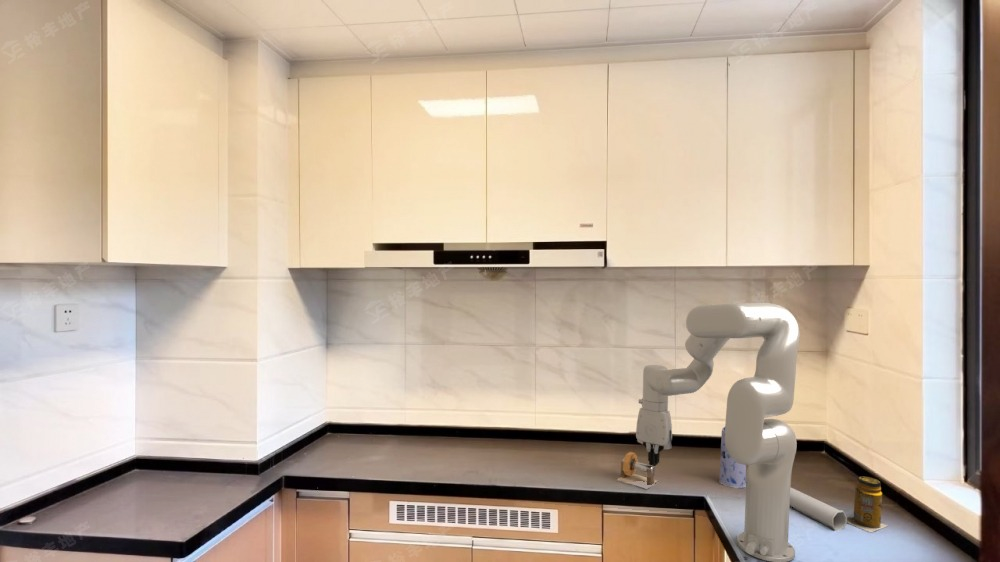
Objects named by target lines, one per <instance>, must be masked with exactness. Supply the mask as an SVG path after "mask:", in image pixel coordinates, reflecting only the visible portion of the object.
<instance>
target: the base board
mask: <svg viewBox="0 0 1000 562" xmlns="http://www.w3.org/2000/svg"><path fill="white" fill-rule="evenodd" d="M620 464H621V465H620V476H619V477H618V478H617V479H616V481H617V480H619V481H623V482H636V481H643V482H645V481H646V482H647V485H652V484H654V482H657V481H658V480H657V479H655V475H656V474H655V473H656V471H655V470H656V466H654V471H653V472H654V473H653V474H652V473H651V469H647V473H646V476H643V475H639V474H636V473H635V474H633V475H632V476H629V475H625V473H624V471H623V461H622V460H621V462H620ZM619 481H618V482H619ZM657 483H658V482H657Z"/></svg>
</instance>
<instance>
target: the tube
mask: <svg viewBox="0 0 1000 562" xmlns="http://www.w3.org/2000/svg"><path fill="white" fill-rule="evenodd" d="M790 506H791V507H790V508H792V507H793V508H792V509H794V510H796V511H798V512H800V513H802V514H803V513H804V515H805V514H806V516H807V517H809V518H812V519H813V520H814V521H817V522H819V523H821V524H823V525H825V526H826V527H829V528H831V529H833V531H836V532H837V531H842V530H843V529H845V527H846V526H847V518H848V517H847V514H846V513H845V512H844V510H842V509H841V510H840V509H837V508H836V507H834V506H831V505H829V504H827V503H825V502H823V501H821V500H819V499H816V498H814V497H812V496H810V495H809V494H806V493H804V492H802V491H799V490H798V489H795V488H793V487H790Z"/></svg>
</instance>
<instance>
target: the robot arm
mask: <svg viewBox="0 0 1000 562" xmlns="http://www.w3.org/2000/svg"><path fill="white" fill-rule="evenodd" d="M685 325H686V329H687V331H688V332H689V334H690V335H689V336H688V338H687V339H686V340H685V343H684V347H685V350H686V351H687V353H688V354H689V355H690V357H692V358H693V360H692V361H691V362H690V363H689V364H688V366H687V367H682V368H674V369H673V368H671V369H668V367H666V366H664V365H658V364H648V365H645V366H644V367H643V371H642V372H643V373H642V374H643V375H642V398H639V399H638V404H641V407H640V408H639V411H638V414H637V419H636V429H635V430H636V431H635V437H636V439H637V440H636V442H637V443H639V444H641V445H643V446H644V447H645V449H646V452H647V453H648V454H647V460H648V461H647V462H648V465H651V466H654V467H656V466H657V465H658V464H660V452H662V451H663V450H670V449H672V447H673V446H672V441H673V424H672V419H671V418H672V417H671V412H670V410H669V406H668V405H669V397H670V396H671V397H672V396H678V395H686V394H687V395H688V394H693V393H696V392H697V391H699V390H701V388H702V387H703V386H704V385H705V384H706V382H707V381H709V379H710V378H711V377H712V374H713V372H714V363H715V362H714V358H716V356H717V355H718V353H720V351H721V350H722V349H723V347H724V346H725V345H726V343H727V342H728V341H729V340H730V339H747V338H748V339H749V338H751V339H752V338H762V339H763V342H762V344H761V346H760V347H759V348H758V349H759V350H758V351H757V355H756V361H755V363H756V365H755V372H754V375H753V377H745V378H740V379H739V380H737V381H735V382H734V383H733V384H732V386H731V387H730V389H729V391H728V394H727V399H726V401H727V402H726V412H725V425H724V427H725V445H726V449H727V452H728V454H729V455H730V457H731V458H732V459H733V460H734V461H735V462H737V463H739V464H742V465H746V466H748V467H747V469H746V487H745V504H744V505H745V509H744V529H743V530H744V531H743V532H741V533H739V534H738V535H737V536H736V537H737V538H736V543H737V546H738V547H739V548H740V549H741V550H742V551H743V552H744V553H746V554H749V555H750V556H752V557H754V558H756V559H760V560H762V561H767V562H791V561H792V560H794V558H795V557H796V549H795V547H794V546H793V545H792V544H791V542H789V531H790V530H789V527H790V523H789V522H790V508H791V507H790V487H791V485H792V472H793V465H794V461H795V456H796V454H797V444H798V443H797V437H796V434H795V432H794V430H793V428H792V427H791V426H790V425H789V424H787V422H785V421H783V420H780V419H776V418H772V417H777V416H783V415H784V414H787V413H789V412H790V411H791V410H792V408H793V404H794V400H795V399H794V398H795V388H796V387H795V386H796V375H797V358H798V352H799V345H800V337H801V336H800V326H799V324H798V321H797V319H796V318H795V316H794V314H792V313H791V312H790V311H789V310H788V309H787V308H785V307H784V306H782V305H779V304H775V303H771V302H770V303H769V302H733V303H722V304H709V305H708V304H707V305H704V304H702V305H700V304H699V305H697V306H695V307H692V309H691V310H690V311H689V312H688V314H687V316H686V319H685ZM791 488H792V487H791Z"/></svg>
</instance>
